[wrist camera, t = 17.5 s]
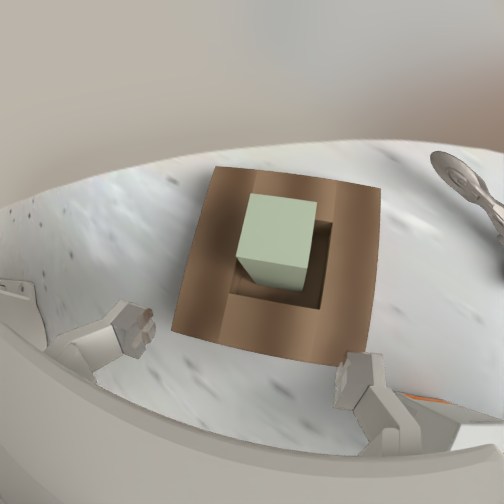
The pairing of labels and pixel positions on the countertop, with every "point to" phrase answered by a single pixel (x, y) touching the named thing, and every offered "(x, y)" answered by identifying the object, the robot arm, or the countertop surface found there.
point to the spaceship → (469, 187)
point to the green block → (277, 241)
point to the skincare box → (451, 425)
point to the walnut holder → (274, 299)
